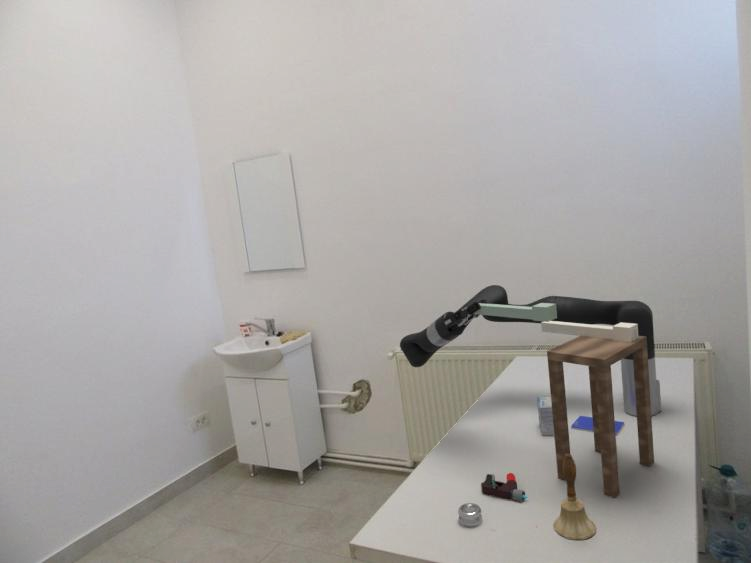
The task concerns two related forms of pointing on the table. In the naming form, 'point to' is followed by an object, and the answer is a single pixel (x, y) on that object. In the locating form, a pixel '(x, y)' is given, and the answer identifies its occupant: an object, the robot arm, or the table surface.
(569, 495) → the hand bell
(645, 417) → the walnut stand
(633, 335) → the cream stick
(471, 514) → the metal grooved wheel
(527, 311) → the sage stick
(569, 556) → the table surface
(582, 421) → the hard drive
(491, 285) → the robot arm
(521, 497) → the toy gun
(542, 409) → the medicine box
